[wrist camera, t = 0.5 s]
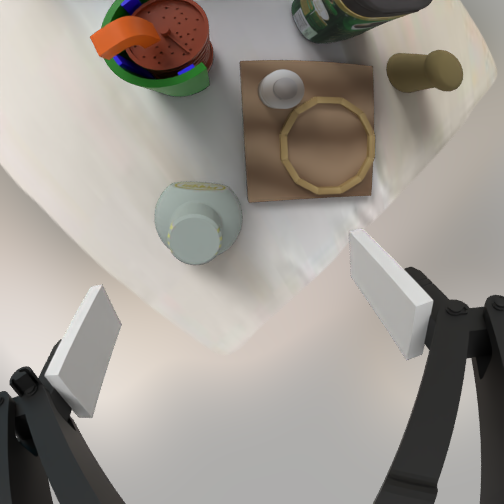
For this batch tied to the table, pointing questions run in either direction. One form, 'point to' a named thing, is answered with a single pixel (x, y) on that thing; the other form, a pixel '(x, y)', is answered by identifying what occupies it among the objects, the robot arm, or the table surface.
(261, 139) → the carrier board
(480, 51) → the table surface
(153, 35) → the motor
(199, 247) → the air freshener
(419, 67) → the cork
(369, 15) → the coffee jar
